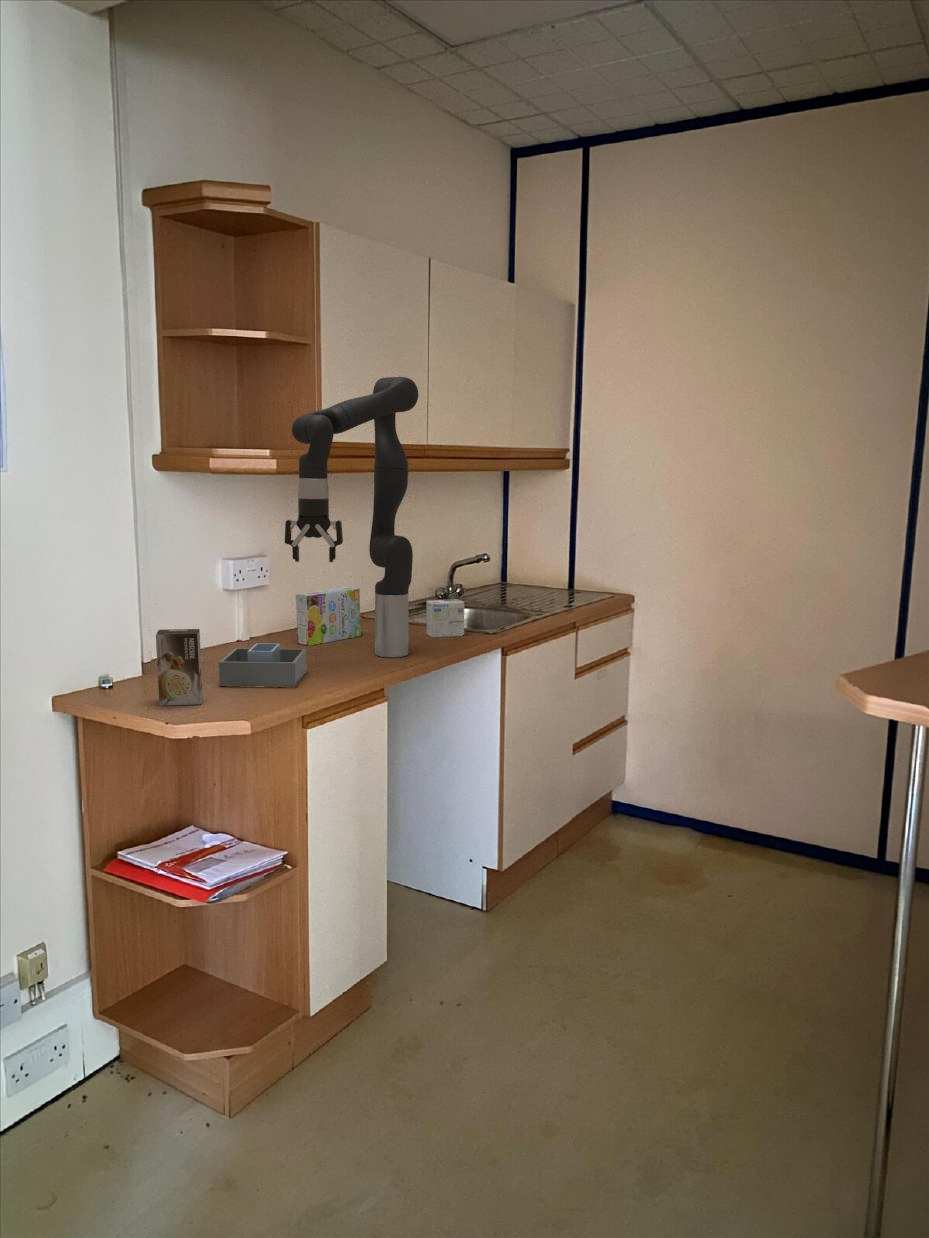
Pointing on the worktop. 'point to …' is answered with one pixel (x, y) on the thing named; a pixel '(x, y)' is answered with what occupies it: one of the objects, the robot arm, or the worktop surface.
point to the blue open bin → (264, 653)
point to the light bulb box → (445, 618)
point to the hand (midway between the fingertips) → (314, 561)
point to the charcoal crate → (263, 669)
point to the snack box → (328, 615)
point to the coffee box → (179, 667)
